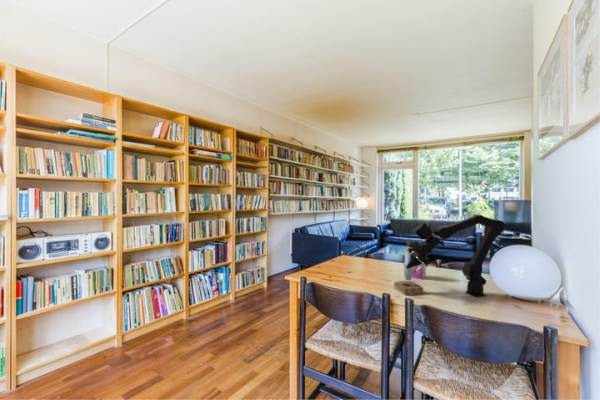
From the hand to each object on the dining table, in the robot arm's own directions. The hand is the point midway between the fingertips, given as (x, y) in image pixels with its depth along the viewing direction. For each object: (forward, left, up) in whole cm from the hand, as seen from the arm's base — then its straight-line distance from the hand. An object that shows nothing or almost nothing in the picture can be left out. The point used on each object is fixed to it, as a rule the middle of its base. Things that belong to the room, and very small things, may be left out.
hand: (405, 267), depth 143 cm
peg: (-1, 0, -6) cm, 6 cm away
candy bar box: (-20, -22, -13) cm, 32 cm away
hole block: (-1, 0, -13) cm, 13 cm away
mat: (-8, -11, -13) cm, 18 cm away
